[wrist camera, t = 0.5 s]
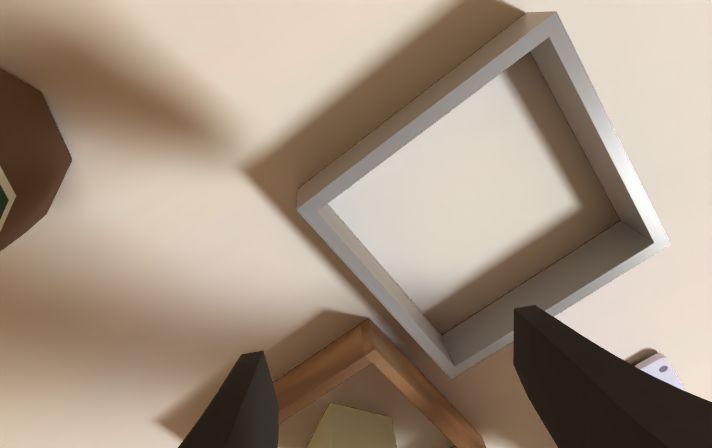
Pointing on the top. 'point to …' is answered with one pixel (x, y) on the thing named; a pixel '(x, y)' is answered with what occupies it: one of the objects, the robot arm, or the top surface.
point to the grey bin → (549, 287)
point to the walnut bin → (376, 348)
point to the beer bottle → (27, 158)
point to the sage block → (353, 429)
